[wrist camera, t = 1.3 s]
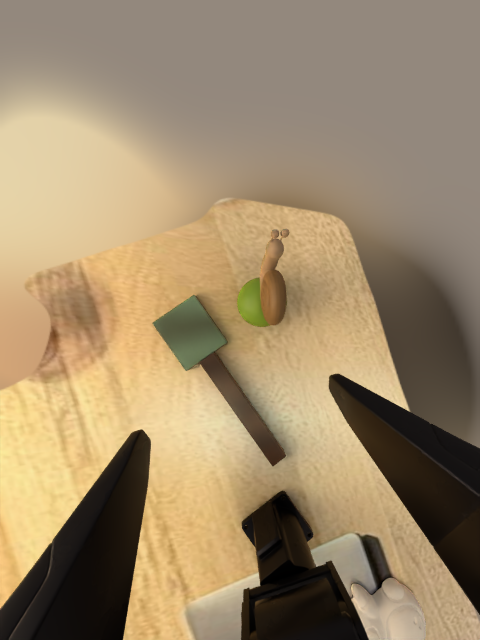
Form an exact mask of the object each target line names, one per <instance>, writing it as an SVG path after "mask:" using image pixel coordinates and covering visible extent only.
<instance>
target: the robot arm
mask: <svg viewBox="0 0 480 640" xmlns="http://www.w3.org/2000/svg"><path fill="white" fill-rule="evenodd" d="M329 390H330V392H331V394H332V396H333V398H334V400H335V401H336V403H337V405H338V407H339V409H340V410H341V412H342V414H343V416H344V418H345V419H346V421H347V423H348V424H349V426H350V427H351V429H352V430H353V432H354V433H355V435H356V436H357V437H358V439H359V440H360V442H361V443H362V445H363V446H364V448H365V449H366V450H367V452H368V453H369V455H370V456H371V458H372V459H373V461H374V462H375V464H376V465H377V466H378V468H379V469H380V471H381V472H382V474H383V475H384V477H385V478H386V479H387V481H388V482H389V484H390V485H391V487H392V488H393V490H394V491H395V493H396V494H397V495H398V497H399V498H400V500H401V501H402V503H403V504H404V506H405V507H406V508H407V510H408V511H409V513H410V514H411V516H412V517H413V519H414V520H415V522H416V523H417V524H418V526H419V527H420V529H421V530H422V532H423V533H424V535H425V536H426V537H427V539H428V540H429V542H430V543H431V545H432V546H434V549H435V551H436V552H437V554H438V555H439V557H440V558H441V559H442V561H443V562H444V564H445V565H446V567H447V568H448V570H449V571H450V572H451V574H452V575H453V577H454V578H455V580H456V581H457V583H458V584H459V586H460V587H461V588H462V590H463V591H464V593H465V594H466V596H467V597H468V599H469V600H470V601H471V603H472V604H473V606H474V607H475V609H476V610H477V612H478V613H479V615H480V448H478V447H476V446H474V445H472V444H470V443H468V442H466V441H463V440H462V439H459V438H458V437H456V436H454V435H452V434H450V433H448V432H446V431H444V430H442V429H441V428H439V427H437V426H435V425H433V424H430V423H429V422H427V421H425V420H424V419H422V418H420V417H418V416H416V415H414V414H413V413H411V412H409V411H407V410H405V409H403V408H402V407H400V406H398V405H396V404H394V403H392V402H390V401H389V400H387V399H385V398H383V397H381V396H379V395H377V394H376V393H374V392H372V391H370V390H368V389H366V388H364V387H363V386H361V385H359V384H357V383H355V382H353V381H351V380H350V379H348V378H346V377H344V376H342V375H340V374H334V375H330V377H329ZM150 450H151V441H150V438H149V437H148V436H147V434H146V433H145V432H144V431H143V430H138V431H134V432H132V433H131V434H130V436H129V437H128V438H127V440H126V441H125V443H124V444H123V445H122V447H121V448H120V449H119V451H118V452H117V453H116V455H115V456H114V458H113V459H112V460H111V462H110V463H109V464H108V466H107V467H106V468H105V470H104V471H103V472H102V474H101V475H100V477H99V478H98V479H97V481H96V482H95V483H94V485H93V486H92V487H91V489H90V490H89V491H88V493H87V494H86V496H85V497H84V498H83V500H82V501H81V502H80V504H79V505H78V506H77V508H76V509H75V511H74V512H73V513H72V515H71V516H70V517H69V519H68V520H67V521H66V523H65V524H64V525H63V527H62V528H61V530H60V531H59V532H58V534H57V535H56V536H55V538H54V539H53V541H52V543H50V544H49V546H48V547H47V548H46V550H45V551H44V552H43V554H42V555H41V557H40V558H39V559H38V561H37V562H36V563H35V565H34V566H33V567H32V569H31V570H30V571H29V573H28V574H27V575H26V577H25V578H24V579H23V581H22V582H21V583H20V584H19V586H18V587H17V588H16V590H15V591H14V592H13V593H12V595H11V596H10V597H9V598H8V600H7V601H6V602H5V604H4V605H3V606H2V607H1V609H0V640H123V636H124V630H125V624H126V617H127V611H128V605H129V599H130V593H131V586H132V580H133V574H134V568H135V562H136V556H137V549H138V543H139V537H140V531H141V525H142V519H143V512H144V506H145V500H146V494H147V487H148V479H149V465H150ZM282 496H284V497H282ZM245 525H247V526H245ZM242 529H243V531H244V532H245V534H246V535H247V537H248V538H249V539H250V541H251V542H252V544H253V545H254V546H255V548H256V555H257V561H258V570H259V578H260V585H261V586H258V587H255V588H252V589H249V588H247V589H244V593H243V603H242V612H241V618H242V631H241V640H369V639H368V636H367V634H366V631H365V629H364V626H363V624H362V622H361V619H360V617H359V615H358V612H357V610H356V608H355V606H354V604H353V602H352V600H351V598H350V596H349V594H348V592H347V590H346V588H345V586H344V584H343V582H342V580H341V578H340V576H339V575H338V573H337V571H336V569H335V567H334V565H333V563H332V561H328V562H326V564H324V565H321V566H318V567H316V565H315V562H314V560H313V557H312V554H311V551H310V548H309V546H308V543H307V542H308V541H309V540H310V539H311V538H312V537H313V532H312V529H311V528H310V526H309V525H308V523H307V522H306V521H305V519H304V518H303V516H302V515H301V513H300V512H299V511H298V509H297V508H296V506H295V505H294V504H293V502H292V501H291V499H290V498H289V496H288V495H287V494H286V492H285V491H281V492H279V493H278V494H277V495H275V496H274V497H273V498H272V499H270V500H269V501H268V502H266V503H265V504H264V505H263V506H261V507H260V508H259V509H257V510H256V511H255V512H254V513H252V514H251V515H250V516H248V517H247V518H246V519H245V520H243V521H242Z"/></svg>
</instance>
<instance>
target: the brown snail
mask: <svg viewBox="0 0 480 640" xmlns="http://www.w3.org/2000/svg"><path fill="white" fill-rule="evenodd" d="M288 235H289V230H288V229H283V230H282V231H281V236H282V237H281V239H280V240H279V239H273V238H277V237H278V236H279V231H278V230H272V231H271V237H272V239H271V240H270V241H269V242H268V244H267V247H266V254H265V256H264V258H263V261H262V267H261V274H260V278H255V279H253V280H251V281H249V282H247V283H246V284H245V285H244V286H243V287H242V289H241V290H240V292H239V295H238V300H237V305H238V310H239V312H240V314H241V316H242V317H243V319H244V320H245V321H247V322H248V323H250V324H251V325H254V326H258V327H265V326H270V325H277V324H279V323H280V322H281V321H282V319H283V317H284V314H285V310H286V305H287V299H286V286H285V281H284V278H283V276H282V274H281V273H280V272H279V271H277V270H275V268H276V266H277V263H278V260H279V258H280V257H281V256H282V254H283V251H284V246H283V243H282V242H281V240H282V238H283V237H284V238H285V237H287V236H288Z"/></svg>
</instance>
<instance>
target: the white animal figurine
mask: <svg viewBox="0 0 480 640" xmlns="http://www.w3.org/2000/svg"><path fill="white" fill-rule="evenodd" d="M351 590H352V594H353V598H352V599H351V600H352V602H353V604H354V606H355V608H356V610H357V612H358V615H359V617H360V619H361V622H362V624H363V626H364V629H365V631H366V634H367V636H368V639H369V640H425V637H426V622H425V617H424V613H423V610H422V608H421V606H420V604H419V602H418V600H417V599H416V597H415V596H414V594H413V593H412V592H411V591H410V589H408V588H407V587H406V586H405V585H403V584H400V583H399V582H398V581H397V580H396V579H395V578H388V579H386V580H385V581H384V582H383V583H382V587H381V588H379V589H378V590H377V591H376V593H375V594H373V595H370V594H369V593H368V592H367V590H366V589H365V588H363V587H362V586H361V585H359V584H355V583H354V584H352V586H351Z"/></svg>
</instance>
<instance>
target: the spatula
mask: <svg viewBox="0 0 480 640" xmlns="http://www.w3.org/2000/svg"><path fill="white" fill-rule="evenodd" d="M153 325H154V326H155V328H156V329H157V331H158V332H159V333H160V335H161V336H162V338H163V339H164V341H165V342H166V343H167V345H168V346H169V348H170V349H171V350H172V352H173V353H174V355H175V356H176V358H177V359H178V360H179V362H180V363H181V365H182V366H183V367H184V369H185V370H186V371H187V370H189V369H190V368H192V367H193V366H194V365H196V364H197V363H199V362H200V364H201V365H202V367H203V368H204V370H205V371H206V372H207V374H208V375H209V377H210V378H211V379H212V381H213V382H214V384H215V385H216V387H217V388H218V389H219V391H220V392H221V394H222V395H223V396H224V398H225V399H226V401H227V402H228V404H229V405H230V406H231V408H232V409H233V411H234V412H235V414H236V415H237V416H238V418H239V419H240V421H241V422H242V423H243V425H244V426H245V428H246V429H247V431H248V432H249V433H250V435H251V436H252V438H253V439H254V441H255V442H256V443H257V445H258V446H259V448H260V449H261V450H262V452H263V453H264V455H265V456H266V458H267V459H268V460H269V462H270V463H271V465H272V466H274V465H275V464H277V463H278V462H279V461H280V460H282V459H283V458H284V457H286V454H285V452H284V450H283V448H282V447H281V445H280V444H279V443H278V441H277V440H276V438H275V437H274V435H273V434H272V433H271V431H270V430H269V428H268V427H267V425H266V424H265V423H264V421H263V420H262V418H261V417H260V415H259V414H258V413H257V411H256V410H255V408H254V407H253V406H252V404H251V403H250V401H249V400H248V398H247V397H246V396H245V394H244V393H243V391H242V390H241V388H240V387H239V386H238V384H237V383H236V381H235V380H234V378H233V377H232V376H231V374H230V373H229V371H228V370H227V368H226V367H225V366H224V364H223V363H222V361H221V360H220V359H219V357H218V356H217V354H216V353H215V351H216V350H217V349H219V348H220V347H221V346H223V345H224V344H226V343H227V340H226V339H225V337H224V336H223V334H222V333H221V332H220V330H219V329H218V327H217V326H216V324H215V323H214V322H213V320H212V319H211V317H210V316H209V314H208V313H207V312H206V310H205V309H204V307H203V306H202V304H201V303H200V302H199V300H198V299H197V297H196V296H195V295H193V296H192V297H190V298H189V299H187V300H186V301H184V302H183V303H181V304H180V305H178V306H177V307H175V308H174V309H172V310H171V311H169V312H168V313H166V314H165V315H164V316H162V317H161V318H159V319H158V320H156V321H155V322H153Z"/></svg>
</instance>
